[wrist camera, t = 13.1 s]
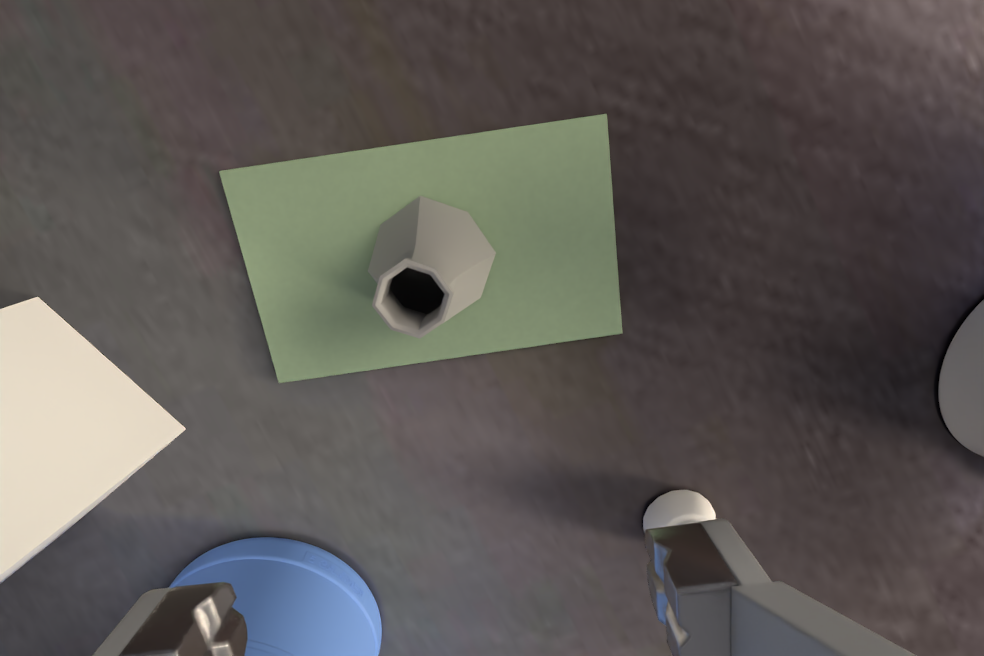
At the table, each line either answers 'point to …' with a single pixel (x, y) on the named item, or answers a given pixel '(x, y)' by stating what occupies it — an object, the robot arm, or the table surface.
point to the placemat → (452, 181)
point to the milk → (63, 429)
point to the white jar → (677, 510)
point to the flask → (428, 266)
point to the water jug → (292, 597)
